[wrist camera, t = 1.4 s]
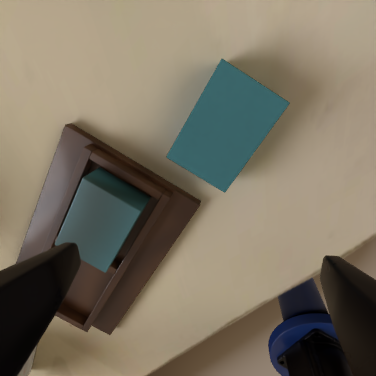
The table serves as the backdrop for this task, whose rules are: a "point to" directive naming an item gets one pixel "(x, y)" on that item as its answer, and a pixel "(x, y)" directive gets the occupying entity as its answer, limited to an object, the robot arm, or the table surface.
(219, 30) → the table surface
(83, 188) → the brown two-compartment tray
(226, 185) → the pad
